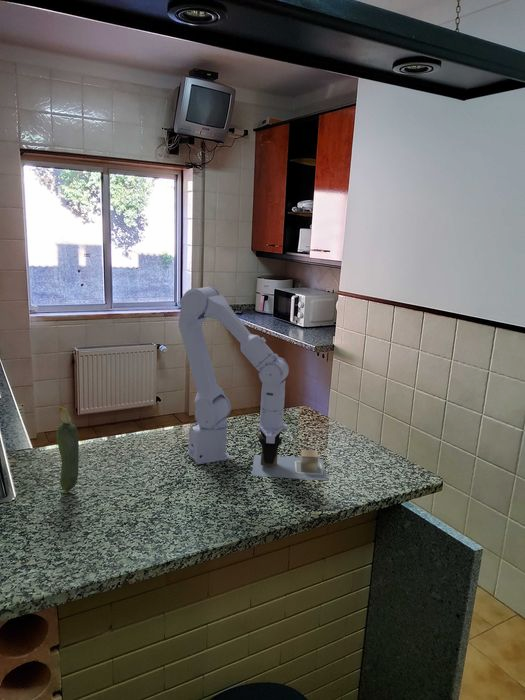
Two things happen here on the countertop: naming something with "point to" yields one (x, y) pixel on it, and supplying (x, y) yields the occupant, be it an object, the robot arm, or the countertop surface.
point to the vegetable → (68, 450)
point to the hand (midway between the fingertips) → (269, 459)
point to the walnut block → (266, 463)
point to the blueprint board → (287, 469)
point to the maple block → (309, 460)
